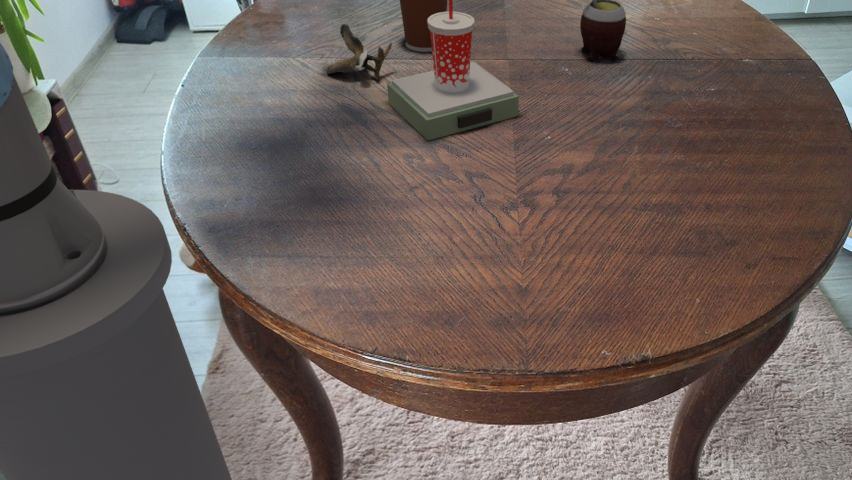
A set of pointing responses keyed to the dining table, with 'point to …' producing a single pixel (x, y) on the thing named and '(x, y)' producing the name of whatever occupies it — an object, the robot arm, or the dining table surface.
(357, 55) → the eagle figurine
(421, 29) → the coffee cup
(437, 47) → the beverage cup
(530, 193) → the dining table surface
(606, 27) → the mate gourd
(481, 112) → the scale
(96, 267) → the robot arm
